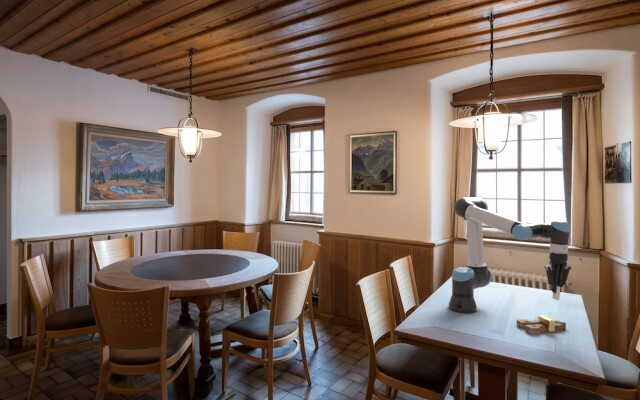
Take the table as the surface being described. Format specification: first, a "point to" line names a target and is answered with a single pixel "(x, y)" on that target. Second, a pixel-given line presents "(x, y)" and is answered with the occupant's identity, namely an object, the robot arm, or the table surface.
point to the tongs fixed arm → (541, 328)
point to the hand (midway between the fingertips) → (555, 298)
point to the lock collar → (547, 323)
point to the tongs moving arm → (524, 322)
